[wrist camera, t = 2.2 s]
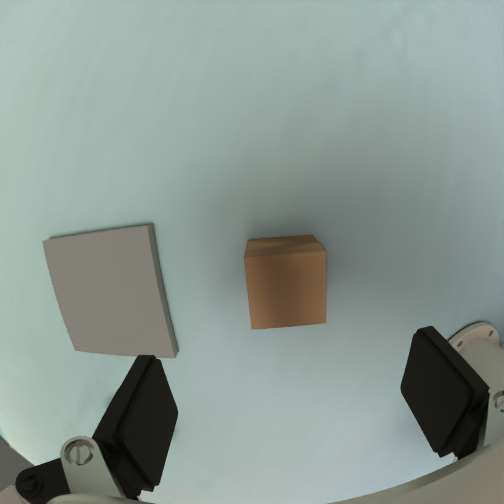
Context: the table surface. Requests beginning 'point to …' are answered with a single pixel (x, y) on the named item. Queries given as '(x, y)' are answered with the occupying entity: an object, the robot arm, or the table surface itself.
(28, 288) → the table surface
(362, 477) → the table surface
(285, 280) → the walnut cube
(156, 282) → the slate coaster
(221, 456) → the table surface
